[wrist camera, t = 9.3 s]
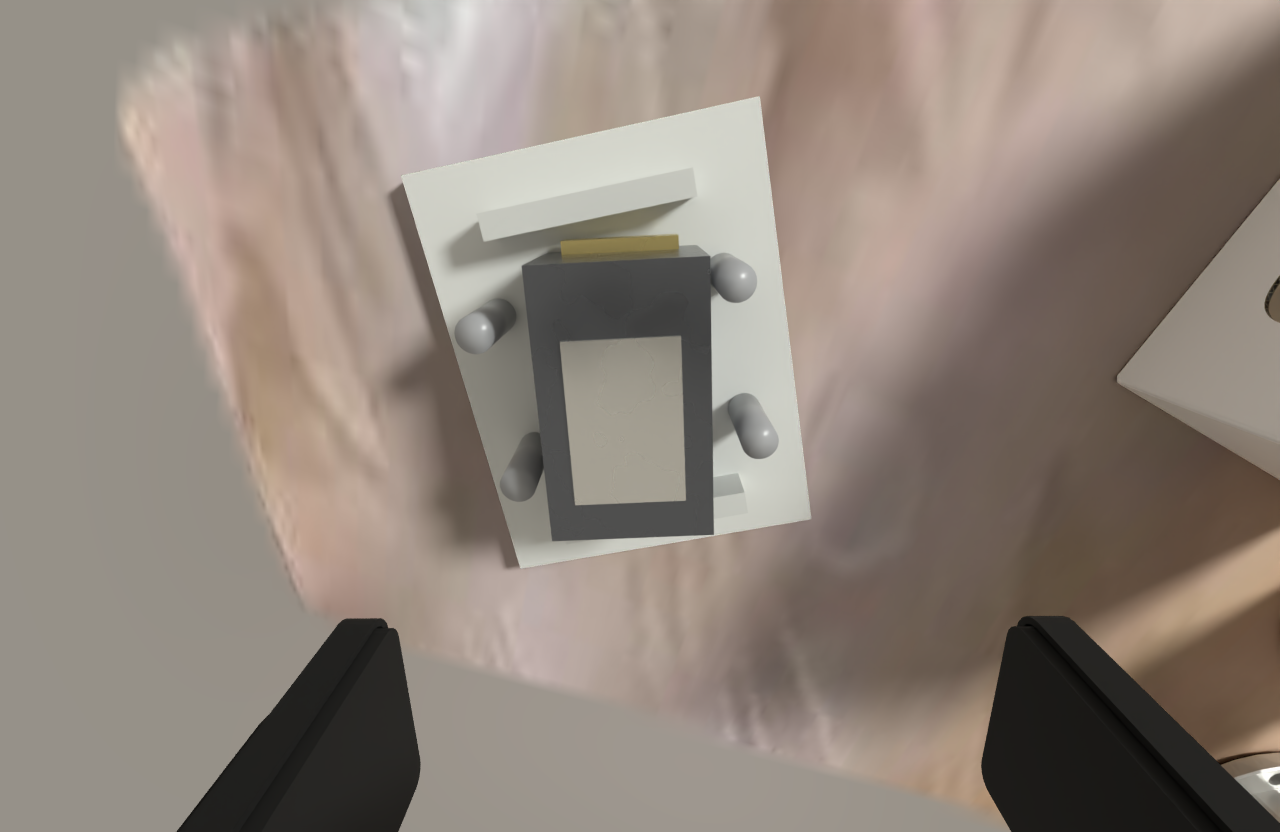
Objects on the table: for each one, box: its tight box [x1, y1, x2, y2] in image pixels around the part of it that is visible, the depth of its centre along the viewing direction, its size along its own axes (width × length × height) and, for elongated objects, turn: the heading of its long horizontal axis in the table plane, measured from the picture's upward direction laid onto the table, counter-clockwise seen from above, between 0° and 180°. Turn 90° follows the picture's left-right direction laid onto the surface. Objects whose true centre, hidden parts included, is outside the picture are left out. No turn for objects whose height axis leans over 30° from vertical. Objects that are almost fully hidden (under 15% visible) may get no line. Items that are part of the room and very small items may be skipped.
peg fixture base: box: [401, 96, 811, 569], centre depth 25 cm, size 18×14×5 cm
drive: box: [522, 234, 714, 541], centre depth 24 cm, size 10×6×6 cm, turn 3°
